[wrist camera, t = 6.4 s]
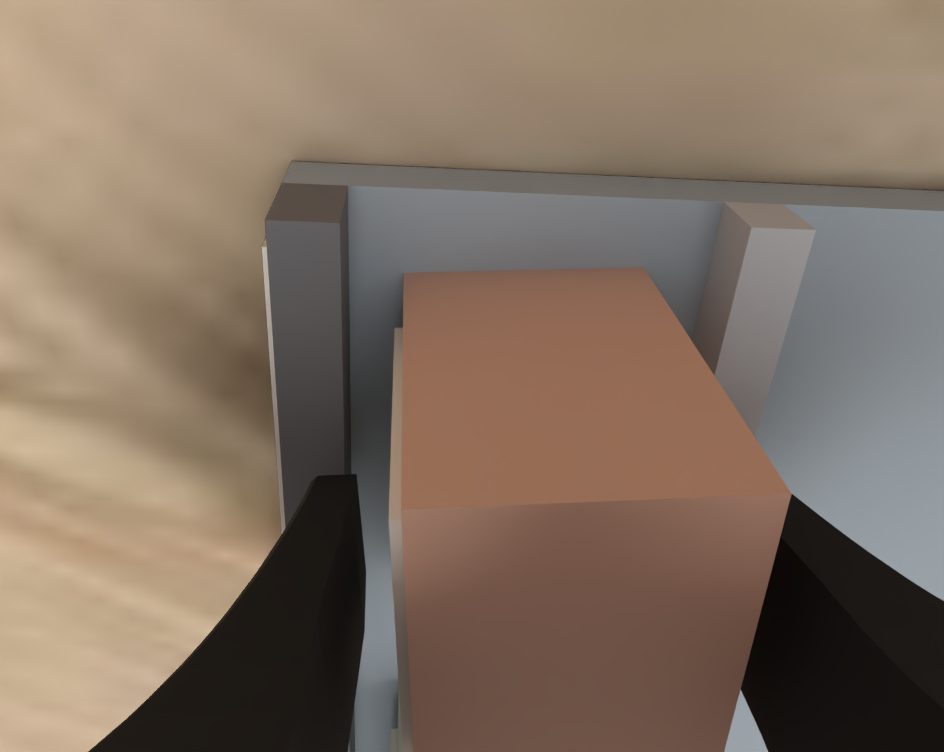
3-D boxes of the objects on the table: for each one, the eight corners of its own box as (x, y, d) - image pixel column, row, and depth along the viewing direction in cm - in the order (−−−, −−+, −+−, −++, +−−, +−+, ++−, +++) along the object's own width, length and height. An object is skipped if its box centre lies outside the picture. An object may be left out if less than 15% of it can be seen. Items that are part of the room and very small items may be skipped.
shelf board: (284, 160, 13) (255, 220, 11) (1272, 205, 15) (1445, 266, 12) (318, 806, 22) (306, 919, 20) (932, 789, 24) (993, 892, 21)
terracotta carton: (393, 272, 13) (384, 509, 8) (643, 267, 13) (791, 493, 8) (408, 567, 16) (407, 870, 11) (608, 558, 17) (698, 850, 12)
